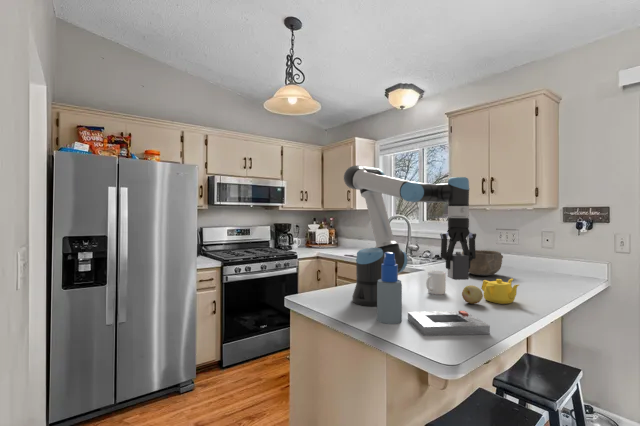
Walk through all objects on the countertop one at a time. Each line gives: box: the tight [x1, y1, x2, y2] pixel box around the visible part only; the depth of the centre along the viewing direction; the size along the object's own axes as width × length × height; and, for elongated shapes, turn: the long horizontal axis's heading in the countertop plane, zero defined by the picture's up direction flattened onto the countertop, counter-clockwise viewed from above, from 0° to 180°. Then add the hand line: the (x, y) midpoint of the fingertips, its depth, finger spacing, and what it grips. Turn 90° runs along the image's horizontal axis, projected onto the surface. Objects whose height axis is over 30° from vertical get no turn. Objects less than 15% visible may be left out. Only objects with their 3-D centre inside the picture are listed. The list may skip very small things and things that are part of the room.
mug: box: [425, 270, 447, 296], centre depth 163 cm, size 12×8×10 cm
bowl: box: [461, 249, 504, 276], centre depth 210 cm, size 24×24×15 cm
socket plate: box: [407, 310, 491, 337], centre depth 116 cm, size 22×16×4 cm
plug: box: [448, 251, 470, 281], centre depth 129 cm, size 6×6×10 cm
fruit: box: [461, 284, 484, 305], centre depth 145 cm, size 8×8×8 cm
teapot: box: [480, 278, 520, 305], centre depth 149 cm, size 14×13×10 cm
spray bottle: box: [376, 252, 403, 325], centre depth 123 cm, size 9×9×25 cm
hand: (457, 277), depth 129 cm, fingers closed on plug, 5 cm apart
